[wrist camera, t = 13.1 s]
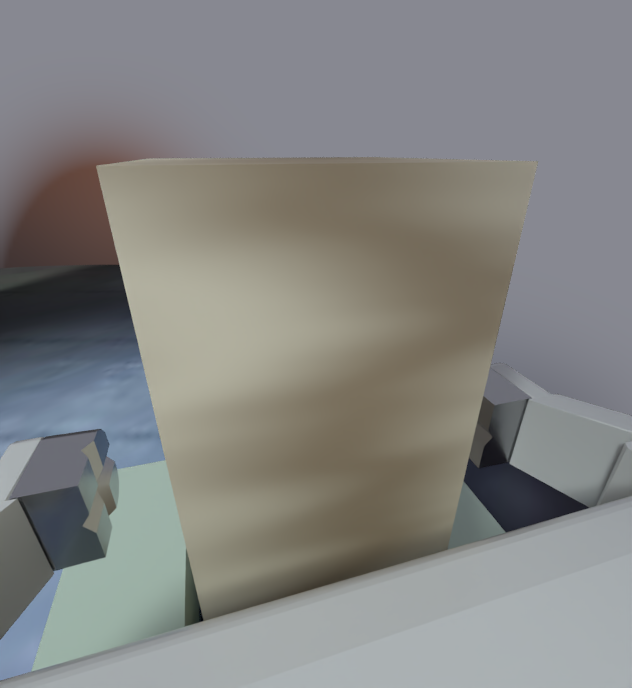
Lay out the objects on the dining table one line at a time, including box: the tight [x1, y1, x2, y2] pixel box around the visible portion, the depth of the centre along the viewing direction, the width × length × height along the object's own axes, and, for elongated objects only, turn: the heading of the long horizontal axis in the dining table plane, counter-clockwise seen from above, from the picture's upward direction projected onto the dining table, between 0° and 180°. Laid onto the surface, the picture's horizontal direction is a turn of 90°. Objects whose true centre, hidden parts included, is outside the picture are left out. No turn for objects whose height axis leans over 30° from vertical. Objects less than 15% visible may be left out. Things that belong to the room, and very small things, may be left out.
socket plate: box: [31, 460, 506, 672], centre depth 11 cm, size 14×14×3 cm
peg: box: [96, 157, 538, 621], centre depth 9 cm, size 4×4×14 cm
